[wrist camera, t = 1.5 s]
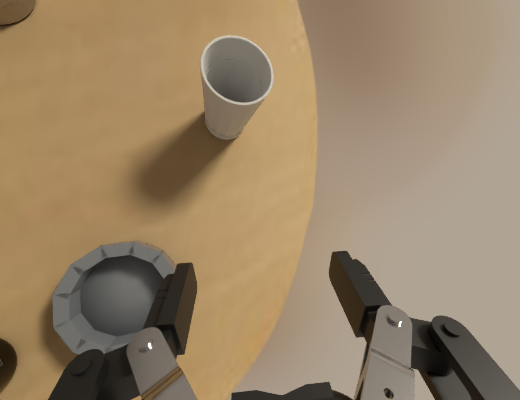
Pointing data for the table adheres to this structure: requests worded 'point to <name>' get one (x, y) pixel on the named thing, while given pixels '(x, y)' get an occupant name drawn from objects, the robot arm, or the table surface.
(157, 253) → the dish
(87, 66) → the table surface
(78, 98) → the table surface
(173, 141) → the table surface
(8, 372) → the supplement bottle
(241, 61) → the cup
